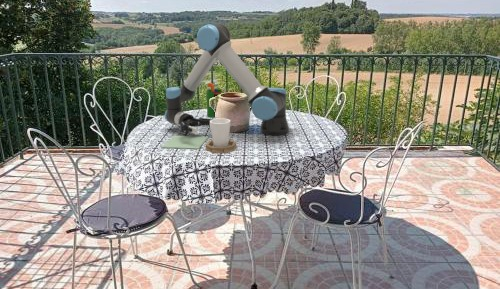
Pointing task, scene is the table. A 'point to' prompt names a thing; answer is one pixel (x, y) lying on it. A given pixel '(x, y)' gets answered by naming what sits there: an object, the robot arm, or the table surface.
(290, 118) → the table surface
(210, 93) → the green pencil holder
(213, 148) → the collar
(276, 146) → the table surface
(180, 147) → the mat
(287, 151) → the table surface
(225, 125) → the foam cup
